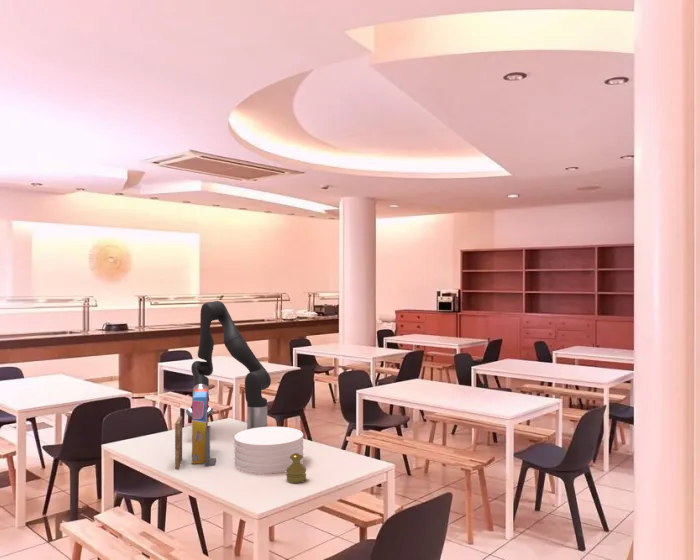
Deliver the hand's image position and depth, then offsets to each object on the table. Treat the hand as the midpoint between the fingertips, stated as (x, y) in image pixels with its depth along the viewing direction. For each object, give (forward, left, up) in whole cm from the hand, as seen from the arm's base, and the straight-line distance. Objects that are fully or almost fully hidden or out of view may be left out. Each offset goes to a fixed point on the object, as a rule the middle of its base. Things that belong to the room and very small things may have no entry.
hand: (198, 427), depth 257 cm
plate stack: (-30, +34, -8) cm, 46 cm away
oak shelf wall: (+6, +29, -7) cm, 31 cm away
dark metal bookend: (-7, +29, -7) cm, 31 cm away
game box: (-2, +20, -8) cm, 22 cm away
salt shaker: (-39, +57, -8) cm, 70 cm away
